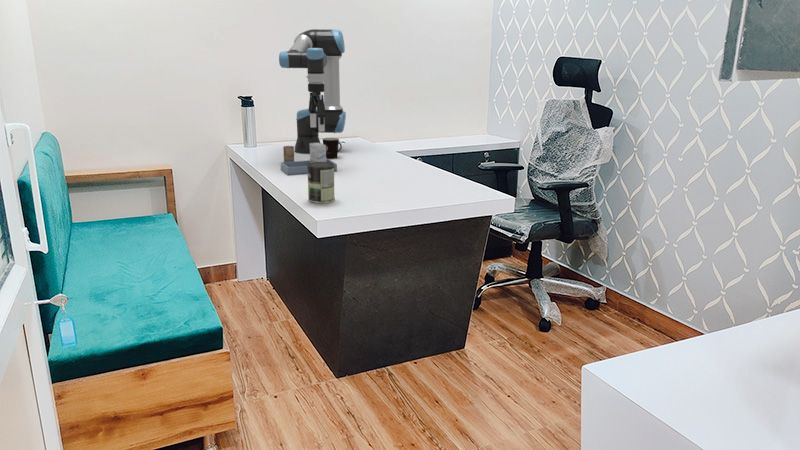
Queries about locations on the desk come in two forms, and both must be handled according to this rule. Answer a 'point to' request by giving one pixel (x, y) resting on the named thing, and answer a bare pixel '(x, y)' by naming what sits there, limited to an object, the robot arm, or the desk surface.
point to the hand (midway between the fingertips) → (317, 129)
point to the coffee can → (321, 182)
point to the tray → (299, 167)
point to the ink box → (317, 152)
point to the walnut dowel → (288, 153)
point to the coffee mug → (331, 147)
